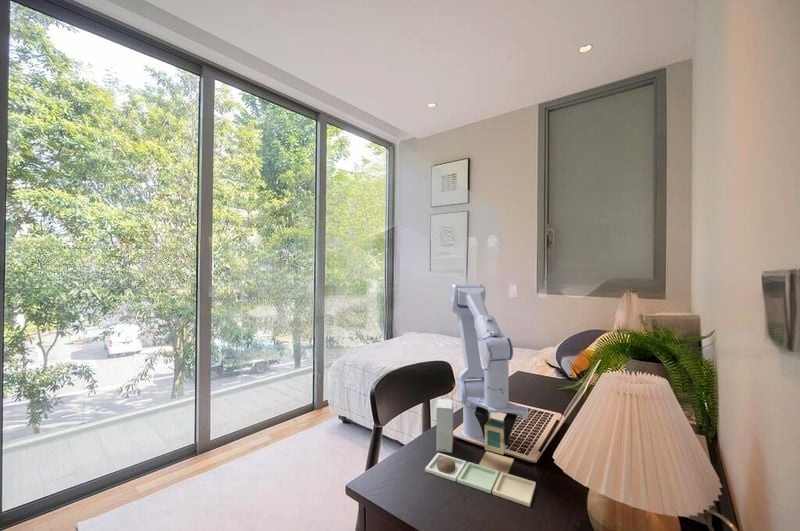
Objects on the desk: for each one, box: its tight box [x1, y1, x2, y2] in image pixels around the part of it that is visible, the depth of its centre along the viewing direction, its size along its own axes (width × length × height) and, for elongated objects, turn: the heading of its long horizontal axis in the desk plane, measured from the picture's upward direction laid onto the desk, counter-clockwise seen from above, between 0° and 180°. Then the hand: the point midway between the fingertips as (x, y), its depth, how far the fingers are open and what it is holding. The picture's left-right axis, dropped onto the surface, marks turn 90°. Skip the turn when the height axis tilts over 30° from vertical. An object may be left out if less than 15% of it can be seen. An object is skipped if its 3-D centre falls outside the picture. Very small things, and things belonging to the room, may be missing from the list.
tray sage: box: [456, 461, 500, 494], centre depth 79 cm, size 8×8×1 cm
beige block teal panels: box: [484, 417, 509, 455], centre depth 85 cm, size 5×4×6 cm
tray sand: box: [491, 472, 537, 508], centre depth 75 cm, size 8×8×1 cm
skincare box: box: [435, 398, 454, 453], centre depth 93 cm, size 6×4×12 cm
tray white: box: [424, 452, 468, 482], centre depth 83 cm, size 8×8×1 cm
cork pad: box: [478, 450, 515, 474], centre depth 85 cm, size 7×7×1 cm
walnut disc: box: [437, 458, 455, 473], centre depth 83 cm, size 4×4×1 cm
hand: (496, 440), depth 85 cm, fingers closed on beige block teal panels, 4 cm apart
